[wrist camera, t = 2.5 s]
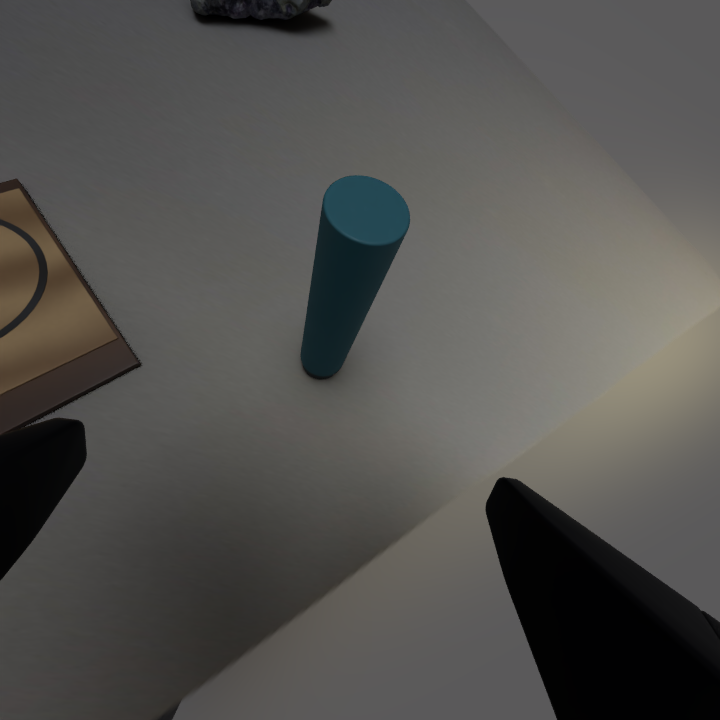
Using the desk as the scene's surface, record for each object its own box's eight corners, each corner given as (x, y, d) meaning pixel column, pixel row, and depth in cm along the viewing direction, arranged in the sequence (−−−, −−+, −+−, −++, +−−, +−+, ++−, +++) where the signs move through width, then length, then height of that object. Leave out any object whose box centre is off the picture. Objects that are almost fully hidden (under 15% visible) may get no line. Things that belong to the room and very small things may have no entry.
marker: (348, 367, 23) (427, 223, 11) (316, 390, 22) (362, 258, 10) (324, 336, 23) (373, 163, 11) (291, 357, 22) (304, 191, 10)
